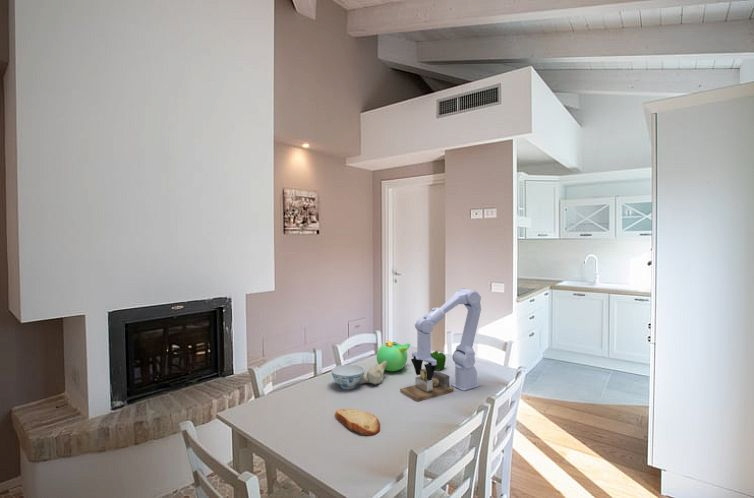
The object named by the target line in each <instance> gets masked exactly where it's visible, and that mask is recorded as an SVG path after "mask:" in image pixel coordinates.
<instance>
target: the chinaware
mask: <svg viewBox="0 0 754 498" xmlns="http://www.w3.org/2000/svg"><path fill="white" fill-rule="evenodd" d="M365 370H366V369H365V367H364V366H362V365H358V364H340V365H337V366H334V367H333V368H331V374H332V378H333V380H334V381H335V383H337V384H338V385H339V386H340V388H341V389H343V390H353V389H355V388H356V387H357V385H358V384H360V383H359V382H360V381H361V380H362V378H363V376H364V375H365Z"/></svg>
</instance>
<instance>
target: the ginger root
mask: <svg viewBox="0 0 754 498" xmlns="http://www.w3.org/2000/svg"><path fill="white" fill-rule="evenodd" d="M386 365H387V362H386V361H383V363H381V364H377V365H374V366H373V367H371V368H370V369H369V370H368V371H367V373H364V375H363V378H362V380H361V381H360V382H359V383H358V384H361V385H362V384H368V383H369V384H373V385H379V384H381V382H382V381H383V380H384V372H385V367H386Z"/></svg>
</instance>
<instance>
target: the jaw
mask: <svg viewBox="0 0 754 498" xmlns="http://www.w3.org/2000/svg"><path fill="white" fill-rule="evenodd" d="M414 383H415V384H414V385H415V386H416V387H418V388H420V389H422V390H424V391H426V392H430V391H433V381H431V380H429V381H428V380H427V373H426V368H421V370H420V375H417V376H415V381H414Z"/></svg>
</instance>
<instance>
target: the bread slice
mask: <svg viewBox="0 0 754 498" xmlns="http://www.w3.org/2000/svg"><path fill="white" fill-rule="evenodd" d="M334 417H335V419H336V420H337V421H338V422H339V423H340V424H342V425H343V427H346V428H347V429H349V430H350V431H352V432H355V433H356V434H357V433H358V434H360V435H362V436H367V437H368V436H369V437H370V436H371V437H373V436H376V435H377V434H379V433H380V431H381V423H380V420H379V419H378V417H377V416H376V415H375V414H373V413H370V412H368V411H365V410H364V411H363V410H359V409H357V408H356V409H354V408H340V409H336V410H335V413H334Z"/></svg>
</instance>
